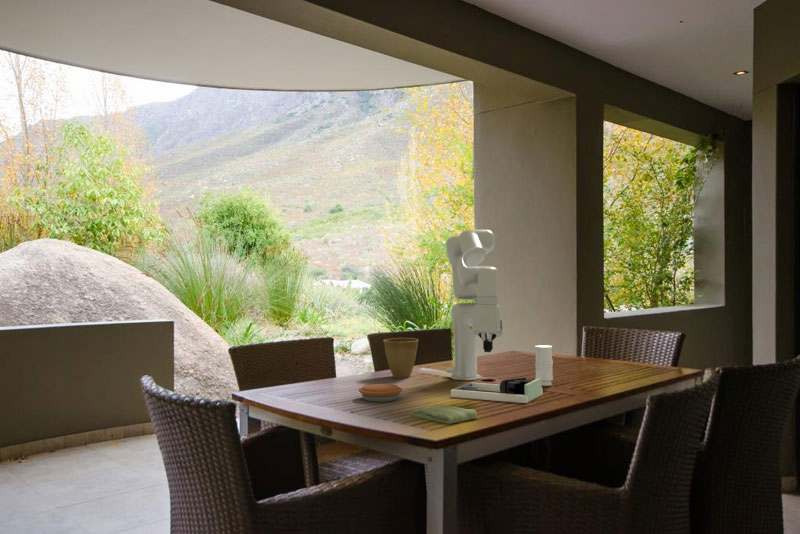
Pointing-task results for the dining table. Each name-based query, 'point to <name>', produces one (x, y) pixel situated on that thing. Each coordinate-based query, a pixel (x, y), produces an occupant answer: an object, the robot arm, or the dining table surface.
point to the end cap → (514, 386)
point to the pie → (380, 392)
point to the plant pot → (401, 355)
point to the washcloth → (445, 414)
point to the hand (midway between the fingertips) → (487, 351)
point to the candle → (544, 364)
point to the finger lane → (471, 392)
